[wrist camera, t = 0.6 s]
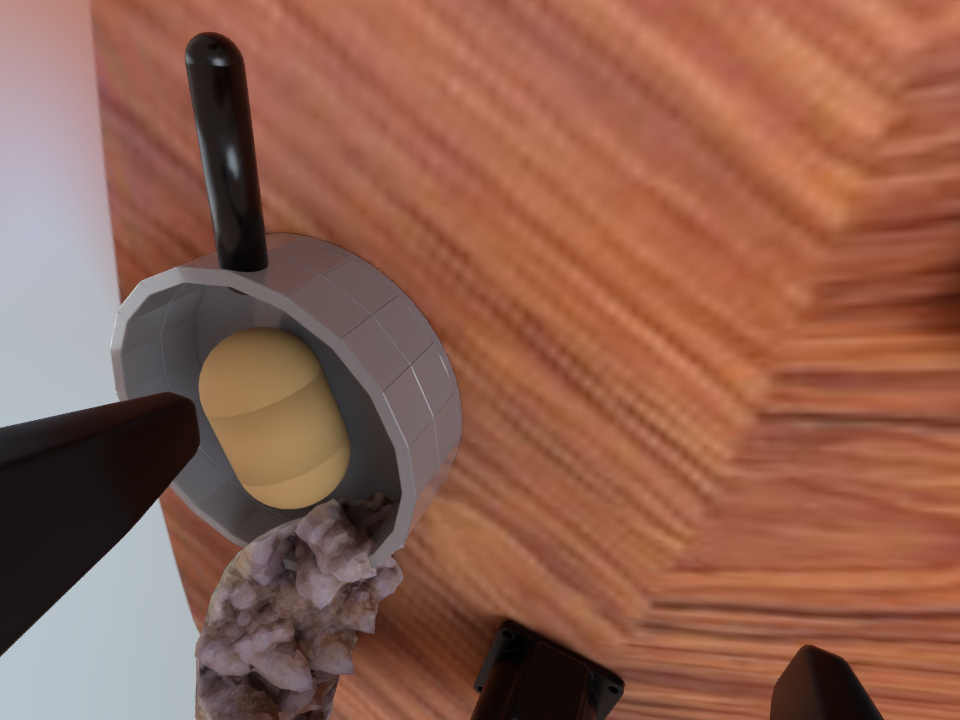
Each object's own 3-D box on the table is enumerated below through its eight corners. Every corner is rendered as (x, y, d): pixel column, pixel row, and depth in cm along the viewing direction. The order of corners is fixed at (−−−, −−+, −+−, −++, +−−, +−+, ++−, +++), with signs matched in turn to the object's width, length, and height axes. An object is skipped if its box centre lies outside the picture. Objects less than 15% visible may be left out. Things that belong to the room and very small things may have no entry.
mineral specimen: (168, 470, 24) (161, 741, 18) (403, 441, 28) (464, 655, 22) (210, 643, 38) (214, 828, 32) (362, 608, 42) (392, 767, 36)
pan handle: (281, 289, 21) (251, 306, 20) (245, 281, 21) (214, 296, 20) (253, 34, 17) (212, 34, 16) (209, 29, 17) (166, 29, 16)
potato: (385, 464, 27) (324, 537, 23) (305, 463, 29) (236, 530, 25) (323, 302, 24) (240, 354, 20) (239, 314, 26) (149, 364, 22)
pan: (429, 552, 29) (384, 626, 25) (199, 435, 32) (129, 487, 28) (499, 311, 21) (449, 367, 18) (188, 184, 24) (88, 209, 20)
